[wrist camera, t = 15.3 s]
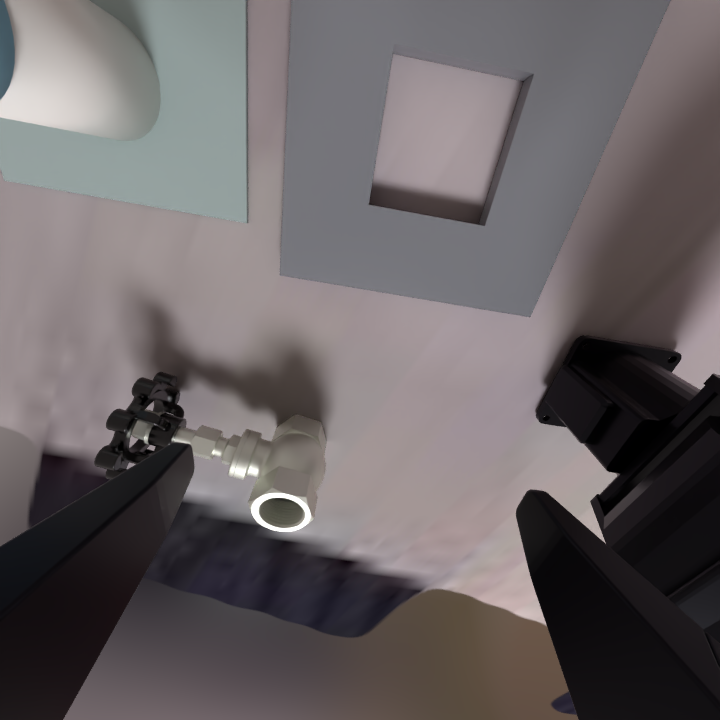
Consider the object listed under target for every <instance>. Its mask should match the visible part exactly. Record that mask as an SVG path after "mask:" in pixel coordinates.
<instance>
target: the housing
mask: <svg viewBox="0 0 720 720" xmlns="http://www.w3.org/2000/svg"><path fill="white" fill-rule="evenodd" d="M670 1H671V0H291V24H290V47H289V70H288V94H287V117H286V140H285V163H284V187H283V210H282V233H281V257H280V275H281V276H287V277H293V278H299V279H305V280H311V281H317V282H323V283H329V284H335V285H341V286H347V287H353V288H359V289H364V290H370V291H376V292H382V293H388V294H394V295H400V296H406V297H412V298H418V299H424V300H430V301H436V302H442V303H448V304H454V305H460V306H466V307H472V308H478V309H484V310H490V311H496V312H502V313H508V314H514V315H520V316H526V317H531V314H532V312H533V310H534V308H535V305H536V303H537V301H538V299H539V296H540V294H541V292H542V290H543V287H544V285H545V283H546V281H547V278H548V276H549V274H550V271H551V269H552V267H553V265H554V262H555V260H556V258H557V256H558V253H559V251H560V249H561V247H562V244H563V242H564V240H565V238H566V235H567V233H568V231H569V229H570V226H571V224H572V222H573V220H574V217H575V215H576V213H577V211H578V208H579V206H580V204H581V202H582V199H583V197H584V195H585V192H586V190H587V188H588V186H589V183H590V181H591V179H592V177H593V174H594V172H595V170H596V168H597V165H598V163H599V161H600V159H601V156H602V154H603V152H604V150H605V147H606V145H607V143H608V141H609V138H610V136H611V134H612V132H613V129H614V127H615V125H616V122H617V120H618V118H619V116H620V113H621V111H622V109H623V107H624V104H625V102H626V100H627V98H628V95H629V93H630V91H631V89H632V86H633V84H634V82H635V80H636V77H637V75H638V73H639V71H640V68H641V66H642V64H643V62H644V59H645V57H646V55H647V52H648V50H649V48H650V46H651V43H652V41H653V39H654V37H655V34H656V32H657V30H658V28H659V25H660V23H661V21H662V19H663V16H664V14H665V12H666V10H667V7H668V5H669V3H670ZM393 54H398V55H402V56H407V57H412V58H417V59H421V60H426V61H431V62H435V63H440V64H445V65H450V66H454V67H459V68H464V69H468V70H473V71H478V72H483V73H487V74H492V75H497V76H502V77H506V78H511V79H516V80H520V81H524V82H523V85H522V88H521V91H520V94H519V98H518V101H517V104H516V107H515V110H514V114H513V117H512V120H511V123H510V126H509V129H508V133H507V136H506V139H505V142H504V145H503V148H502V152H501V155H500V158H499V161H498V164H497V168H496V171H495V174H494V177H493V180H492V183H491V187H490V190H489V193H488V196H487V199H486V203H485V206H484V209H483V212H482V215H481V218H480V222H479V224H475V223H469V222H464V221H458V220H453V219H447V218H442V217H436V216H431V215H425V214H420V213H415V212H409V211H404V210H398V209H393V208H387V207H382V206H376V205H371V204H369V200H370V193H371V187H372V181H373V175H374V168H375V162H376V156H377V149H378V143H379V137H380V130H381V124H382V118H383V111H384V105H385V99H386V93H387V86H388V80H389V74H390V67H391V61H392V55H393Z"/></svg>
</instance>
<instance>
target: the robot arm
mask: <svg viewBox="0 0 720 720" xmlns="http://www.w3.org/2000/svg"><path fill="white" fill-rule="evenodd" d="M586 342H587V344H586V345H585V346H583V347H582V345H583V344H584V343H586ZM670 357H671V358H670ZM669 358H670V359H669ZM680 360H681V354H680V353H678V352H676V351H674V350H671V349H665V348H659V347H653V346H647V345H641V344H635V343H629V342H623V341H617V340H611V339H605V338H599V337H593V336H581V337H579V338H578V339H576V341H575V342H574V344H573V346H572V348H571V350H570V352H569V354H568V355H567V357H566V359H565V361H564V363H563V365H562V367H561V368H560V370H559V372H558V374H557V376H556V378H555V380H554V381H553V383H552V385H551V387H550V389H549V391H548V393H547V395H546V396H545V398H544V400H543V402H542V404H541V406H540V408H539V410H538V412H537V414H536V418H537V419H538V420H539V422H540V423H543V424H549V425H555V426H562V427H567V428H568V429H569V430H570V431H571V433H572V434H573V435H574V436H575V437H576V439H577V440H578V441H579V442H580V443H583V444H585V446H586V447H587V448H588V449H589V450H590V452H591V453H592V454H593V455H594V456H595V457H596V459H597V460H598V461H599V462H600V463H601V464H602V466H603V467H604V468H605V469H606V470H607V471H609V472H614V473H616V474H617V475H618V476H617V477H616V478H615V479H614V480H613V481H612V482H611V483H610V484H609V485H608V486H607V488H606V489H605V490H604V491H603V492H602V493H601V494H600V495H599V494H597V495H596V496H595V497H594V498H593V499H592V500H591V501H590V502H591V505H592V507H593V510H594V513H595V515H596V518H597V521H598V523H599V526H600V529H601V531H602V534H603V537H604V539H605V542H606V544H605V543H604V542H603V541H602V540H601V539H599V538H598V537H597V536H596V535H595V534H594V533H593V532H591V531H590V530H589V529H588V528H587V527H586V526H585V525H583V524H582V523H581V522H580V521H579V520H578V519H577V518H575V517H574V516H573V515H572V514H571V513H570V512H569V511H567V510H566V509H565V508H564V507H563V506H562V505H561V504H559V503H558V502H557V501H556V500H555V499H554V498H552V497H551V496H550V495H549V494H548V493H546V492H544V491H540V490H532V489H531V490H528V491H527V492H526V494H525V496H524V497H523V499H522V500H521V502H520V504H519V505H518V507H517V510H516V518H517V522H518V527H519V531H520V535H521V539H522V543H523V548H524V552H525V556H526V560H527V564H528V568H529V572H530V576H531V579H532V582H533V586H534V589H535V592H536V595H537V598H538V601H539V603H540V606H541V609H542V612H543V615H544V618H545V621H546V624H547V627H548V630H549V633H550V636H551V639H552V642H553V645H554V648H555V651H556V654H557V657H558V660H559V663H560V666H561V669H562V671H563V675H564V678H565V680H566V683H567V686H568V689H569V692H570V695H571V698H572V701H573V704H574V707H575V710H576V713H577V716H578V719H579V720H720V375H716V374H712V375H711V376H710V377H709V378H708V379H707V380H706V382H705V383H704V384H705V386H704V387H703V388H702V389H701V390H700V389H698V388H696V387H695V386H693V385H691V384H690V383H688V382H686V381H685V380H683V379H681V378H680V377H678V376H676V375H675V374H673V373H672V371H673V370H674V369H675V367H676V366H677V364H678V363H679V362H680ZM545 415H546V416H545ZM544 416H545V417H544ZM193 473H194V458H193V450H192V446H191V445H190V444H188V443H181V442H173V443H171V444H169V445H168V446H166V447H164V448H163V449H161V450H159V451H158V452H156V453H154V454H153V455H151V456H149V457H148V458H146V459H144V460H143V461H141V462H139V463H138V464H136V465H134V466H133V467H131V468H129V469H128V470H126V471H124V472H123V473H121V474H119V475H118V476H116V477H114V478H113V479H111V480H109V481H108V482H106V483H104V484H103V485H101V486H99V487H98V488H96V489H95V490H93V491H91V492H90V493H88V494H86V495H85V496H83V497H81V498H80V499H78V500H76V501H75V502H73V503H71V504H70V505H68V506H66V507H65V508H63V509H61V510H60V511H58V512H56V513H55V514H53V515H51V516H50V517H48V518H46V519H45V520H43V521H41V522H40V523H38V524H36V525H35V526H33V527H31V528H30V529H28V530H26V531H25V532H23V533H21V534H20V535H18V536H17V537H15V538H13V539H12V540H10V541H8V542H7V543H5V544H3V545H2V546H0V720H63V719H64V717H65V715H66V713H67V712H68V710H69V708H70V707H71V705H72V703H73V701H74V699H75V698H76V696H77V694H78V692H79V690H80V689H81V687H82V685H83V683H84V682H85V680H86V678H87V676H88V674H89V673H90V671H91V669H92V667H93V666H94V664H95V662H96V660H97V658H98V657H99V655H100V653H101V651H102V649H103V648H104V646H105V644H106V642H107V641H108V639H109V637H110V635H111V633H112V632H113V630H114V628H115V626H116V625H117V623H118V621H119V619H120V617H121V616H122V614H123V612H124V610H125V608H126V607H127V605H128V603H129V601H130V600H131V598H132V596H133V594H134V593H135V591H136V589H137V587H138V585H139V584H140V582H141V580H142V578H143V576H144V575H145V573H146V571H147V569H148V568H149V566H150V564H151V562H152V560H153V559H154V557H155V555H156V553H157V552H158V550H159V548H160V546H161V544H162V543H163V541H164V539H165V537H166V535H167V533H168V531H169V529H170V526H171V524H172V522H173V520H174V517H175V515H176V513H177V510H178V508H179V506H180V504H181V501H182V499H183V497H184V494H185V492H186V490H187V487H188V485H189V483H190V481H191V478H192V476H193Z"/></svg>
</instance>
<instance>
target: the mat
mask: <svg viewBox="0 0 720 720" xmlns="http://www.w3.org/2000/svg"><path fill="white" fill-rule="evenodd" d="M90 1H91V2H93V3H94V4H95V5H97V6H98V7H100V8H101V9H103V10H104V11H106V12H107V13H109V14H110V15H112V16H113V17H115V18H116V19H118V20H119V21H121V22H122V23H123V24H124V25H126V26H127V27H128V28H129V29H130V30H131V31H132V32H133V33H134V34H135V35H136V37H137V38H138V39H139V40H140V42H141V43H142V45H143V46H144V47H145V49H146V51H147V52H148V54H149V56H150V58H151V60H152V62H153V65H154V67H155V70H156V73H157V76H158V80H159V85H160V93H161V103H160V111H159V115H158V118H157V121H156V123H155V125H154V126H153V128H152V129H151V130H150V131H149V132H148V133H147V134H146V135H145V136H143V137H142V138H139V139H137V140H132V141H120V140H114V139H109V138H104V137H99V136H93V135H88V134H83V133H78V132H73V131H68V130H63V129H57V128H52V127H47V126H42V125H37V124H32V123H26V122H21V121H16V120H11V119H6V118H1V117H0V169H1V172H2V175H3V178H4V181H9V182H15V183H21V184H27V185H32V186H38V187H44V188H49V189H55V190H61V191H66V192H72V193H78V194H83V195H89V196H95V197H101V198H106V199H112V200H118V201H123V202H129V203H135V204H140V205H146V206H152V207H157V208H163V209H169V210H174V211H180V212H186V213H192V214H197V215H203V216H209V217H214V218H220V219H226V220H231V221H237V222H243V223H248V77H247V0H90Z"/></svg>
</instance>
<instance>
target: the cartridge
mask: <svg viewBox="0 0 720 720" xmlns="http://www.w3.org/2000/svg"><path fill="white" fill-rule="evenodd" d="M160 103H161V93H160V85H159V80H158V76H157V73H156V70H155V67H154V65H153V62H152V60H151V58H150V56H149V54H148V52H147V51H146V49H145V47H144V46H143V45H142V43H141V42H140V40H139V39H138V38H137V37H136V35H135V34H134V33H133V32H132V31H131V30H130V29H129V28H128V27H127V26H126V25H124V24H123V23H122V22H121V21H119V20H118V19H116V18H115V17H113V16H112V15H110V14H109V13H107V12H106V11H104V10H103V9H101V8H100V7H98V6H97V5H95V4H94V3H93V2H91V1H90V0H0V117H1V118H6V119H11V120H16V121H21V122H26V123H32V124H37V125H42V126H47V127H52V128H57V129H63V130H68V131H73V132H78V133H83V134H88V135H93V136H99V137H104V138H109V139H114V140H120V141H132V140H137V139H139V138H142V137H143V136H145V135H146V134H147V133H148V132H149V131H150V130H151V129H152V128H153V126H154V125H155V123H156V121H157V118H158V115H159V111H160Z"/></svg>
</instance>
